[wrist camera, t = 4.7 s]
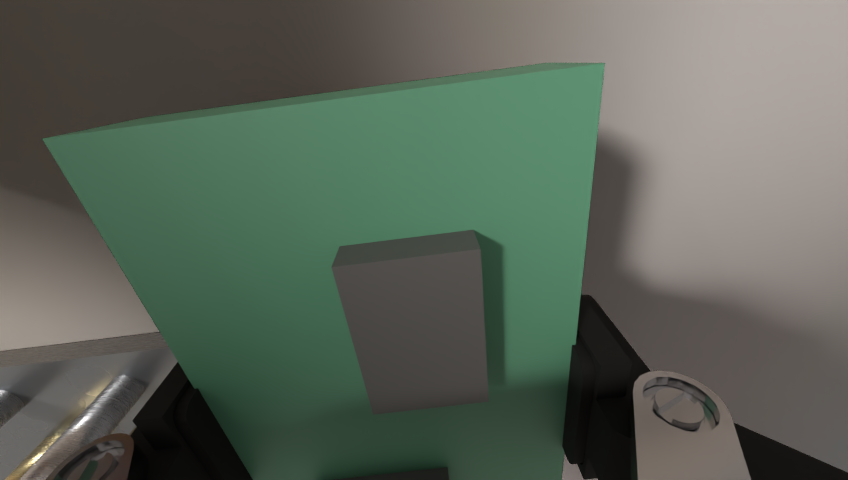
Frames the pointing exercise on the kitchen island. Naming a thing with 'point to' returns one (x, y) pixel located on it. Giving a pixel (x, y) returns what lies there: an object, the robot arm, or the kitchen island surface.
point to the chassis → (73, 397)
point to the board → (364, 266)
